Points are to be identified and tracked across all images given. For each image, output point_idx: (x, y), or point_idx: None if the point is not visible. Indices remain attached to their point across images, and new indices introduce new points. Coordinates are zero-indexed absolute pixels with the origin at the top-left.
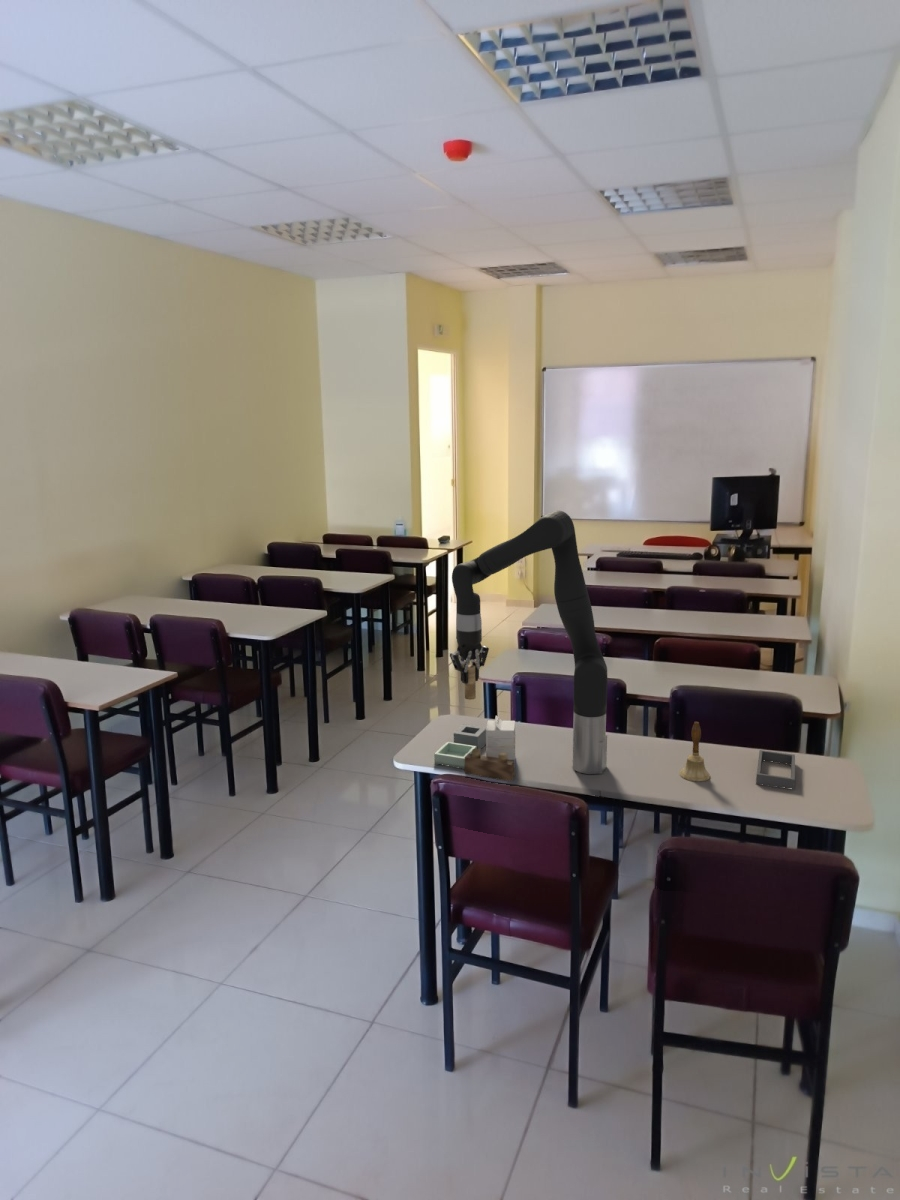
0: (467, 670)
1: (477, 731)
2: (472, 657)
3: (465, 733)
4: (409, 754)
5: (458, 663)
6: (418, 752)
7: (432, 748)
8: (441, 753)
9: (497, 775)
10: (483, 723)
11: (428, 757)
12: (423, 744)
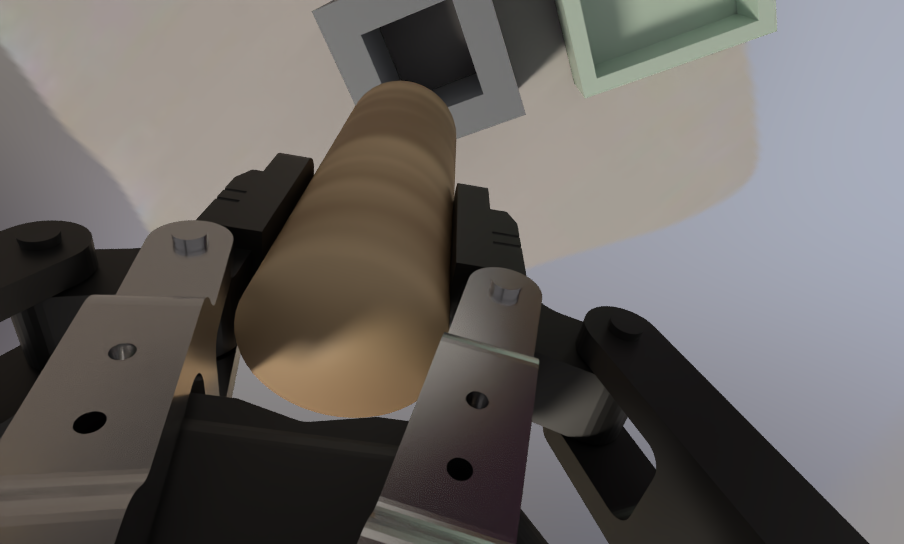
0: (445, 290)
1: (408, 12)
2: (260, 461)
3: (485, 52)
4: (698, 199)
5: (747, 457)
6: (657, 185)
7: (582, 168)
8: (695, 36)
9: None
10: (185, 191)
11: (684, 108)
12: (568, 228)
